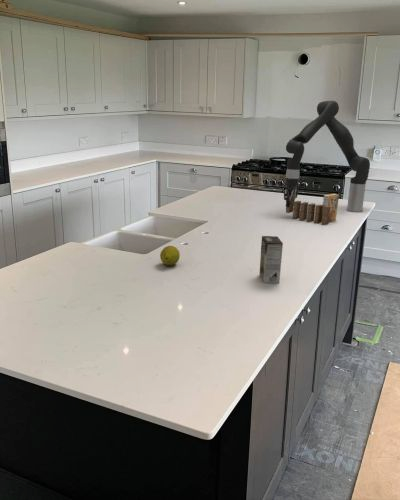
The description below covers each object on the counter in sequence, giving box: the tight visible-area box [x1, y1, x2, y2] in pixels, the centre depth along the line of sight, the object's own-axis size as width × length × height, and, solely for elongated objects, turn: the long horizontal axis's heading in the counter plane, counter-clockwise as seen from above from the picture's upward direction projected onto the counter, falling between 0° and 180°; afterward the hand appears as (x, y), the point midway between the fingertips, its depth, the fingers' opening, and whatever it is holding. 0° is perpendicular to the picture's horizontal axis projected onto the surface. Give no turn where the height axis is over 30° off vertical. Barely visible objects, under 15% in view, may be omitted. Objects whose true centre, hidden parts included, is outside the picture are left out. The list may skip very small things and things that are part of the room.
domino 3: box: [299, 201, 309, 222], centre depth 291 cm, size 5×2×10 cm, turn 142°
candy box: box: [321, 193, 340, 223], centre depth 289 cm, size 9×4×15 cm, turn 129°
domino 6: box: [320, 206, 331, 226], centre depth 283 cm, size 5×2×10 cm, turn 142°
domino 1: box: [285, 195, 294, 214], centre depth 295 cm, size 5×2×10 cm, turn 142°
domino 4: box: [306, 202, 317, 223], centre depth 288 cm, size 5×2×10 cm, turn 142°
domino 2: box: [292, 200, 302, 220], centre depth 293 cm, size 5×2×10 cm, turn 142°
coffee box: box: [258, 235, 284, 284], centre depth 196 cm, size 9×6×16 cm
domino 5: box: [313, 203, 323, 225], centre depth 286 cm, size 5×2×10 cm, turn 142°
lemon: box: [159, 245, 181, 266], centre depth 209 cm, size 11×8×8 cm
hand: (289, 206), depth 296 cm, fingers closed on domino 1, 5 cm apart
